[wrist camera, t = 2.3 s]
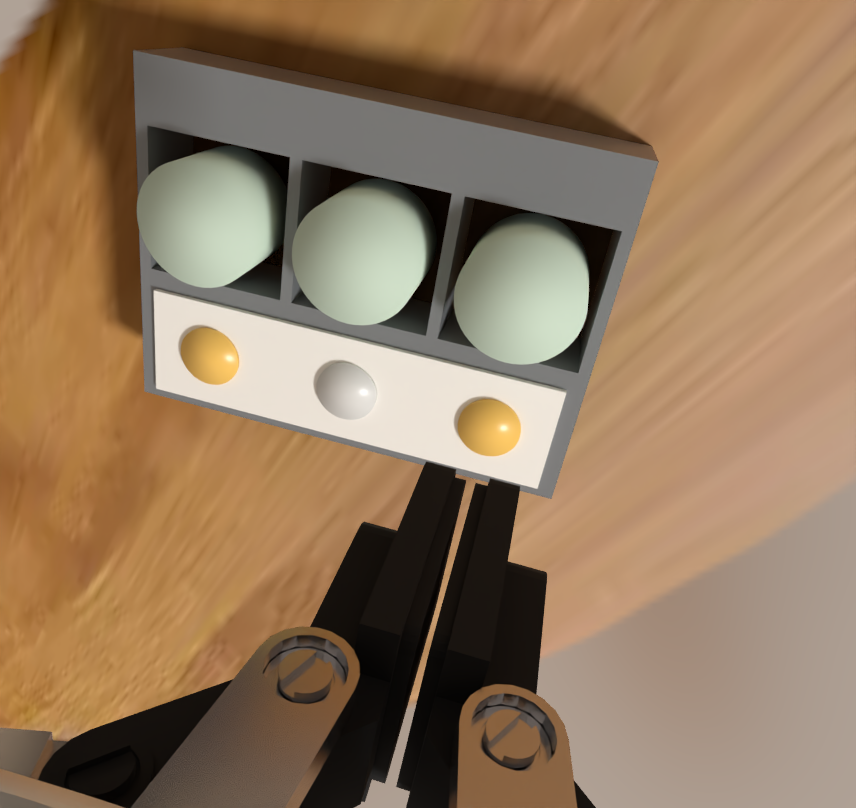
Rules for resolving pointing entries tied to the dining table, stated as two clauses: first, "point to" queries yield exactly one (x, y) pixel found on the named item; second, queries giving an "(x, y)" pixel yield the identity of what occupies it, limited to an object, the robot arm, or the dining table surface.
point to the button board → (418, 320)
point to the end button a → (212, 215)
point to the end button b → (524, 289)
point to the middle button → (364, 251)
